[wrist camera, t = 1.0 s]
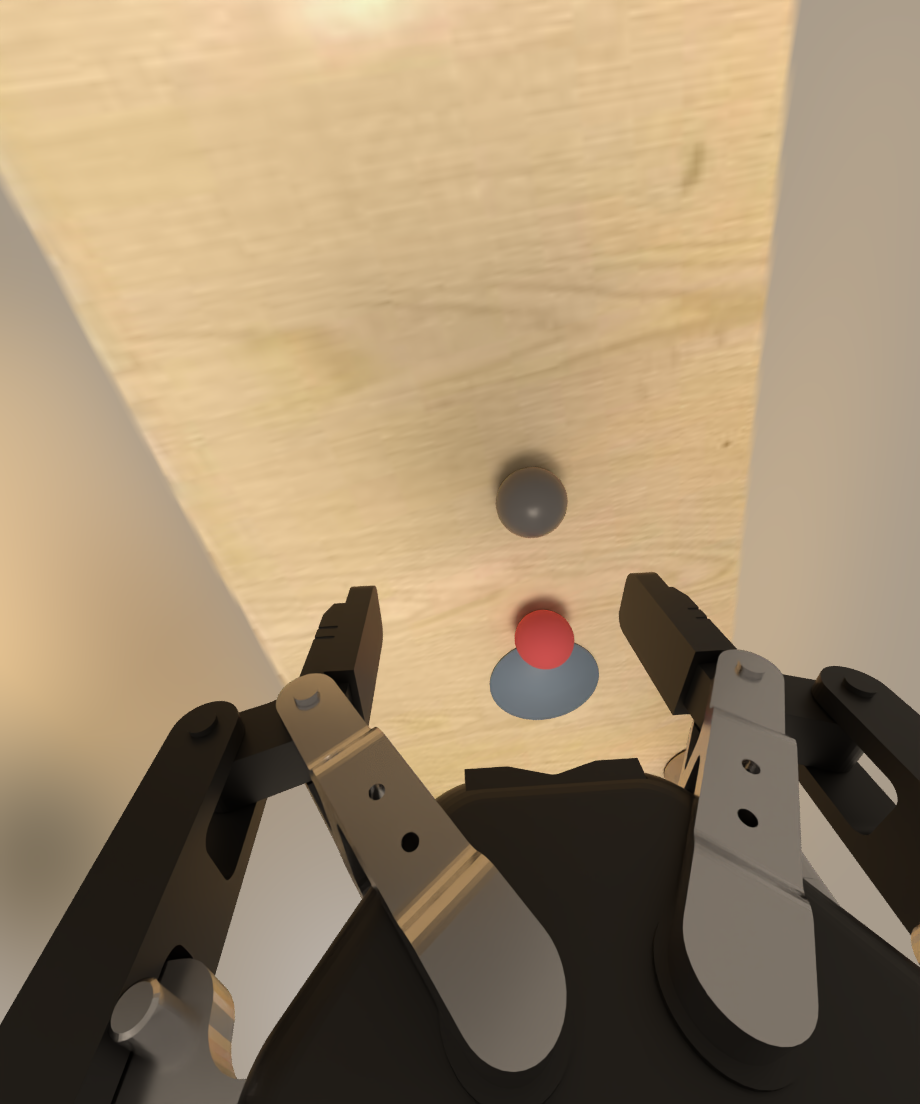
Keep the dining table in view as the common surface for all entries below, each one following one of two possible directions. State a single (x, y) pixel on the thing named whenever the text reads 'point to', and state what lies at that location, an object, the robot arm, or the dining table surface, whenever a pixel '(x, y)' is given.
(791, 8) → the dining table surface
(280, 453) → the dining table surface
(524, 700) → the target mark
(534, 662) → the red ball
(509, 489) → the gray ball
